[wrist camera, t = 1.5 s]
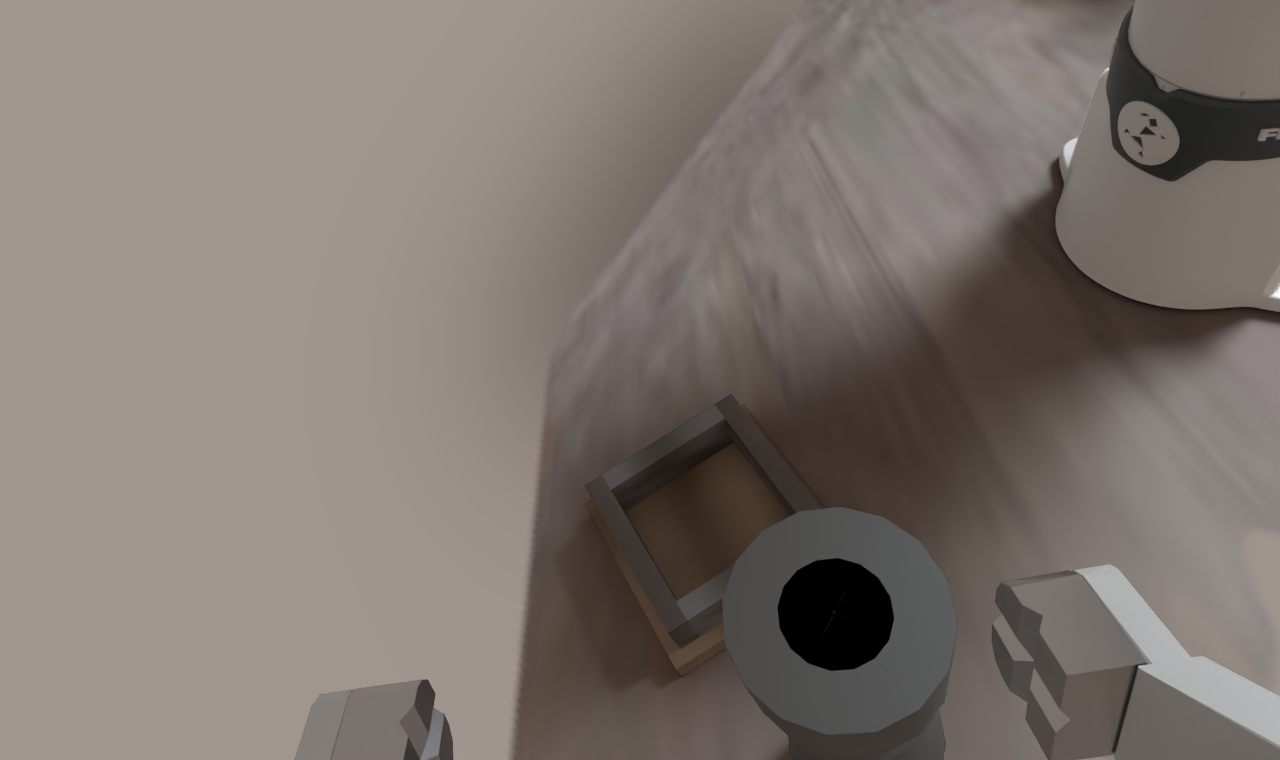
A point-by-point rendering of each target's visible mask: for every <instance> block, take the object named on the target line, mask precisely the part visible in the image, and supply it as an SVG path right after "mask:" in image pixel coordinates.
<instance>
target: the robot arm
mask: <svg viewBox="0 0 1280 760" xmlns="http://www.w3.org/2000/svg"><path fill="white" fill-rule="evenodd" d="M1109 61H1110V62H1111V63H1110V68H1107V69H1105V70H1104V71H1103V72H1102V74H1101V75H1100V77H1099V79H1098V81H1097V83H1096V86H1095V89H1094V92H1093V95H1092V98H1091V101H1090V103H1089V106H1088V109H1087V112H1086V115H1085V118H1084V121H1083V124H1082V127H1081V130H1080V133H1079V136H1078V137H1077V138H1075V139H1072V140H1070V141H1069V142H1067V143H1066V144H1065V145H1064V147H1063V149H1062V152H1061V155H1060V158H1059V165H1060V170H1061V174H1062V177H1063V180H1064V188H1063V192H1062V194H1061V197H1060V200H1059V203H1058V206H1057V210H1056V220H1055V222H1056V230H1057V235H1058V238H1059V241H1060V243H1061V245H1062V247H1063V249H1064V251H1065V252H1066V254H1067V255H1068V257H1069V258H1070V259H1071V260H1072V262H1073V263H1074V264H1075V265H1076V266H1077V267H1078V268H1079V269H1080V270H1081V271H1082V272H1084V273H1085V274H1086V275H1087V276H1089V277H1090V278H1091V279H1093V280H1094V281H1096V282H1097V283H1099V284H1101V285H1102V286H1104V287H1106V288H1108V289H1110V290H1112V291H1114V292H1116V293H1118V294H1120V295H1123V296H1126V297H1128V298H1131V299H1134V300H1137V301H1141V302H1144V303H1148V304H1153V305H1157V306H1163V307H1169V308H1178V309H1218V308H1230V307H1255V308H1260V309H1265V310H1271V311H1276V312H1280V0H1135V3H1134V6H1133V7H1132V8H1131V9H1130V10H1129V12H1128V13H1127V14H1126V16H1125V18H1124V20H1123V22H1122V24H1121V27H1120V31H1119V33H1118V35H1117V38H1116V39H1115V43H1114V45H1113V47H1112V51H1111V55H1110V59H1109ZM995 602H996V604H997V606H998V607H999V609H1000V611H1001V612H1002V614H1001V615H1000V616H999V617H998V618H997V619H996V621H995V622H994V623H993V626H992V645H993V650H994V655H995V660H996V662H997V665H998V668H999V670H1000V673H1001V675H1002V677H1003V679H1004V681H1005V683H1006V685H1007V686H1008V688H1009V690H1010V691H1011V692H1013V693H1014V694H1016V695H1017V696H1019V697H1020V698H1022V699H1023V700H1025V701H1026V702H1028V705H1027V712H1026V721H1027V723H1028V725H1029V727H1030V728H1031V730H1032V732H1033V734H1034V735H1035V737H1036V739H1037V741H1038V743H1039V744H1040V746H1041V748H1042V750H1043V752H1044V753H1045V755H1046V757H1047V759H1048V760H1078V759H1086V758H1093V757H1101V756H1108V755H1115V756H1114V758H1115V759H1116V760H1280V696H1278V695H1276V694H1274V693H1272V692H1270V691H1268V690H1266V689H1265V688H1263V687H1261V686H1259V685H1257V684H1255V683H1253V682H1251V681H1249V680H1247V679H1245V678H1244V677H1242V676H1240V675H1238V674H1236V673H1234V672H1232V671H1230V670H1228V669H1226V668H1224V667H1222V666H1221V665H1219V664H1217V663H1215V662H1213V661H1211V660H1209V659H1207V658H1205V657H1203V656H1198V657H1190V656H1189V654H1188V653H1187V652H1186V651H1185V650H1184V648H1183V647H1182V646H1181V645H1180V644H1179V642H1178V641H1177V640H1176V639H1175V637H1174V636H1173V635H1172V634H1171V633H1170V631H1169V630H1168V629H1167V628H1166V626H1165V625H1164V624H1163V623H1162V622H1161V620H1160V619H1159V618H1158V617H1157V616H1156V614H1155V613H1154V612H1153V611H1152V609H1151V608H1150V607H1149V606H1148V605H1147V603H1146V602H1145V601H1144V600H1143V598H1142V597H1141V596H1140V595H1139V594H1138V592H1137V591H1136V590H1135V589H1134V588H1133V586H1132V585H1131V584H1130V583H1129V581H1128V580H1127V579H1126V578H1125V577H1124V575H1123V574H1122V573H1121V572H1120V571H1119V569H1117V568H1116V567H1114V566H1112V565H1111V564H1108V565H1102V566H1096V567H1090V568H1084V569H1078V570H1073V571H1069V570H1068V571H1062V572H1057V573H1051V574H1046V575H1040V576H1034V577H1029V578H1023V579H1018V580H1012V581H1007V582H1001V584H1000V585H999V586H998V588H997V592H996V599H995ZM434 700H435V692H434V690H433V689H432V687H431V685H430V683H429V681H428V680H417V681H410V682H403V683H395V684H388V685H380V686H373V687H366V688H359V689H353V690H347V691H340V692H333V693H327V694H320V695H319V697H318V698H317V699H316V701H315V702H314V704H313V705H312V707H311V710H310V713H309V716H308V719H307V723H306V725H305V728H304V732H303V735H302V738H301V741H300V744H299V747H298V750H297V754H296V757H295V760H453V741H452V736H451V731H450V727H449V724H448V721H447V719H446V717H445V714H444V713H441V712H440V711H438V710H436V709H434V708H433V706H434Z"/></svg>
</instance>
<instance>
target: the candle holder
mask: <svg viewBox="0 0 1280 760" xmlns="http://www.w3.org/2000/svg"><path fill="white" fill-rule="evenodd" d="M722 608H723V624H724V640H725V646H726V648H727V650H728V652H729V654H730V656H731V658H732V660H733V662H734V665H735V667H736V669H737V671H738V673H739V675H740V677H741V679H742V681H743V683H744V685H745V687H746V688H747V690H748V691H749V693H750V694H751V695H752V697H753V698H754V700H755V701H756V703H757V704H758V706H759V707H760V708H761V710H762V711H763V713H764V714H765V715H766V716H767V717H769V718H770V719H771V720H772V721H773V722H774V723H775V724H776V725H777V726H778V727H779V728H781V729H782V730H783V731H784V732H785V733H786V734H787V735H788V739H789V749H790V754H791V756H792V758H793V760H943V756H944V751H945V746H946V742H945V738H944V733H943V728H942V723H941V718H940V713H939V710H938V709H939V708H940V707H941V705H942V704H943V702H944V700H945V695H946V690H947V685H948V680H949V675H950V670H951V665H952V660H953V654H954V647H955V641H956V634H957V627H958V623H957V619H956V615H955V610H954V606H953V601H952V597H951V592H950V588H949V584H948V579H947V578H946V577H945V575H944V574H943V572H942V571H941V570H940V568H939V567H938V565H937V564H936V563H935V561H934V560H933V558H932V557H931V555H930V554H929V553H928V551H927V550H926V548H925V547H924V546H923V544H922V543H921V542H920V541H919V540H917V539H916V538H914V537H913V536H911V535H910V534H908V533H907V532H905V531H904V530H902V529H901V528H899V527H898V526H896V525H895V524H893V523H892V522H890V521H889V520H887V519H886V518H884V517H882V516H877V515H873V514H869V513H865V512H861V511H857V510H853V509H848V508H844V507H834V508H826V509H818V510H809V511H801V512H797V513H795V514H794V515H792V516H790V517H788V518H786V519H784V520H782V521H780V522H778V523H776V524H774V525H772V526H770V527H769V528H767V529H765V530H763V531H762V532H761V533H760V534H759V535H758V536H757V537H756V539H755V540H754V541H753V542H752V543H751V544H750V546H749V547H748V548H747V549H746V550H745V551H744V552H743V554H742V555H741V556H740V557H739V558H738V559H737V561H736V562H735V565H734V568H733V571H732V573H731V576H730V579H729V582H728V585H727V588H726V591H725V594H724V597H723V600H722Z"/></svg>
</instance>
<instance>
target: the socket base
mask: <svg viewBox="0 0 1280 760" xmlns="http://www.w3.org/2000/svg"><path fill="white" fill-rule="evenodd" d="M585 487H586V489H587V490H588V492H589V494H590V496H591V498H592V499H591V500H590V501H588V502H586V503H585V504H584V505H585V506H586V508H587V510H588V512H589V514H590V515H591V517H592V519H593V521H594V523H595V525H596V526H597V528H598V530H599V532H600V534H601V535H602V537H603V539H604V541H605V543H606V544H607V546H608V548H609V550H610V552H611V554H612V555H613V557H614V559H615V561H616V563H617V564H618V566H619V568H620V570H621V572H622V573H623V575H624V577H625V579H626V581H627V582H628V584H629V586H630V588H631V590H632V592H633V593H634V595H635V597H636V599H637V601H638V602H639V604H640V606H641V608H642V610H643V611H644V613H645V615H646V617H647V619H648V621H649V622H650V624H651V626H652V628H653V630H654V631H655V633H656V635H657V637H658V639H659V640H660V642H661V644H662V646H663V648H664V650H665V651H666V653H667V655H668V657H669V659H670V660H671V662H672V664H673V666H674V668H675V669H676V671H677V672H678V673H679V674H680V675H681V676H684V675H685V674H687V673H689V672H690V671H692V670H693V669H695V668H696V667H698V666H699V665H701V664H702V663H704V662H705V661H707V660H708V659H710V658H712V657H713V656H715V655H716V654H718V653H719V652H721V651H722V650H724V649H725V648H726V646H725V640H724V624H723V608H722V600H723V597H724V594H725V591H726V588H727V585H728V582H729V579H730V576H731V573H732V571H733V568H734V565H735V562H736V561H737V559H738V558H739V557H740V556H741V555H742V554H743V552H744V551H745V550H746V549H747V548H748V547H749V546H750V544H751V543H752V542H753V541H754V540H755V539H756V537H757V536H758V535H759V534H760V533H761V532H762V531H763V530H765V529H767V528H769V527H770V526H772V525H774V524H776V523H778V522H780V521H782V520H784V519H786V518H788V517H790V516H792V515H794V514H795V513H797V512H801V511H809V510H818V509H826V508H825V506H824V505H823V504H822V503H821V501H820V500H819V499H818V497H817V496H816V495H815V494H814V492H813V491H812V490H811V489H810V487H809V486H808V485H807V484H806V482H805V481H804V480H803V478H802V477H801V476H800V475H799V473H798V472H797V471H796V470H795V468H794V467H793V466H792V465H791V463H790V462H789V461H788V459H787V458H786V457H785V456H784V454H783V453H782V452H781V451H780V449H779V448H778V447H777V446H776V444H775V443H774V442H773V440H772V439H771V438H770V437H769V435H768V434H767V433H766V432H765V430H764V429H763V428H762V427H761V425H760V424H759V423H758V422H757V420H756V419H755V418H754V416H753V415H752V414H751V413H750V411H749V410H748V409H747V408H746V406H745V405H744V404H743V405H741V406H740V405H739V403H738V402H737V401H736V399H735V398H734V397H733V396H732V394H731V395H729V396H728V397H726V398H724V399H723V400H721V401H720V402H718V403H716V404H715V405H713V406H712V407H710V408H708V409H707V410H705V411H704V412H702V413H700V414H699V415H697V416H696V417H694V418H692V419H691V420H689V421H688V422H686V423H684V424H683V425H681V426H680V427H678V428H676V429H675V430H673V431H672V432H670V433H668V434H667V435H665V436H664V437H662V438H660V439H659V440H657V441H656V442H654V443H652V444H651V445H649V446H648V447H646V448H644V449H643V450H641V451H640V452H638V453H636V454H635V455H633V456H632V457H630V458H628V459H627V460H625V461H624V462H622V463H620V464H619V465H617V466H616V467H614V468H612V469H611V470H609V471H608V472H606V473H604V474H603V475H601V476H600V477H598V478H596V479H595V480H593V481H592V482H590V483H588V484H587V485H585Z"/></svg>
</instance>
